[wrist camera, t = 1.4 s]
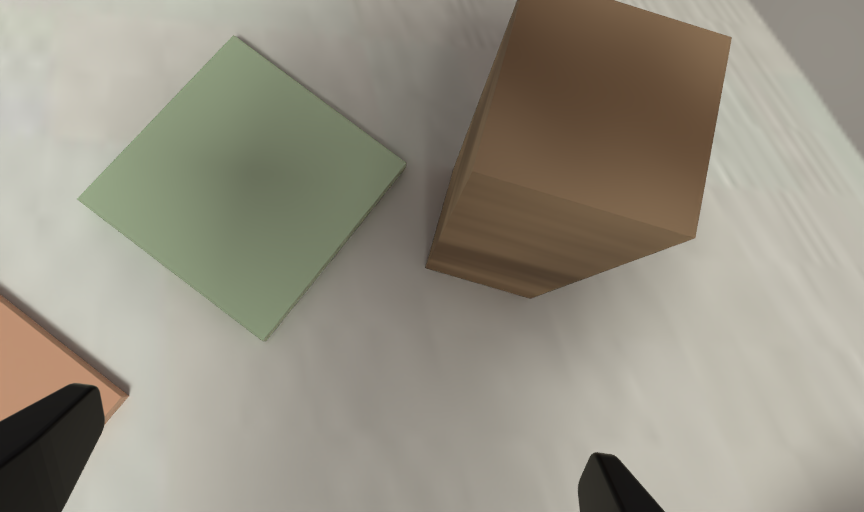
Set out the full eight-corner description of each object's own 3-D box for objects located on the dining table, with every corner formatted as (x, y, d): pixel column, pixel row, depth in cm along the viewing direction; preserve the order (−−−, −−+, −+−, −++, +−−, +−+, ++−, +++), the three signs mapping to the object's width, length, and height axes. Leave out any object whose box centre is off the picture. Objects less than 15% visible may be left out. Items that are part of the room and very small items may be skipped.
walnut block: (530, 298, 24) (695, 238, 11) (425, 267, 24) (472, 171, 11) (554, 197, 25) (731, 37, 12) (454, 167, 25) (527, -27, 12)
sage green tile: (405, 171, 25) (406, 163, 24) (268, 341, 23) (262, 341, 22) (240, 49, 26) (233, 35, 24) (92, 206, 24) (77, 199, 22)
